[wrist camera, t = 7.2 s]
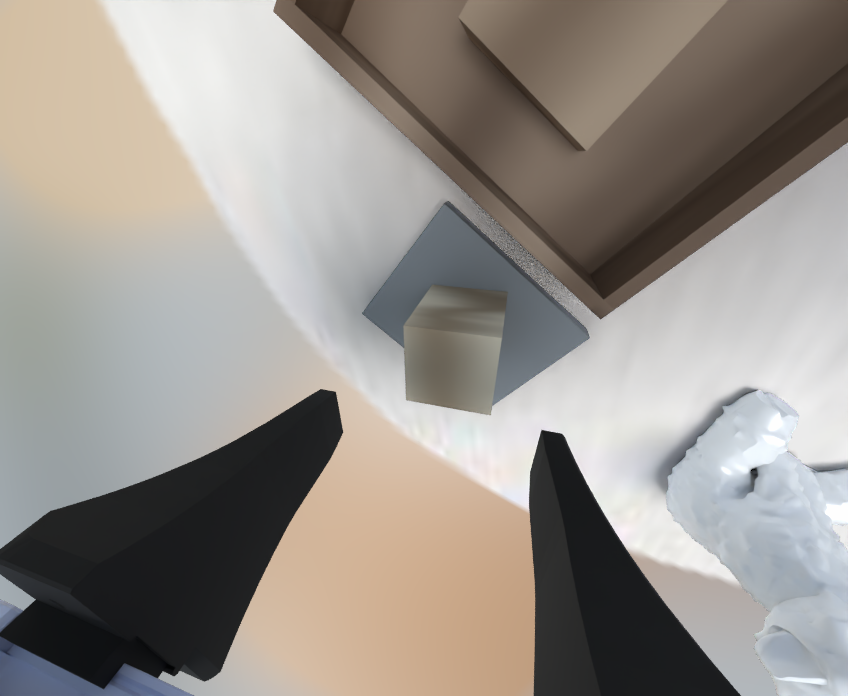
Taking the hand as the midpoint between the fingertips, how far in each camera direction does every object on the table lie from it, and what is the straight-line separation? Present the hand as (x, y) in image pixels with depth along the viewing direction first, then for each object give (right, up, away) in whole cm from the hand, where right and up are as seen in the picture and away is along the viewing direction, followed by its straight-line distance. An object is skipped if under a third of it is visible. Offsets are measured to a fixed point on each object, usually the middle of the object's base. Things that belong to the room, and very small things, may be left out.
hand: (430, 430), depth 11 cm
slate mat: (+2, +5, +8) cm, 9 cm away
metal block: (+2, +4, +7) cm, 8 cm away
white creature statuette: (+19, -4, +8) cm, 21 cm away
